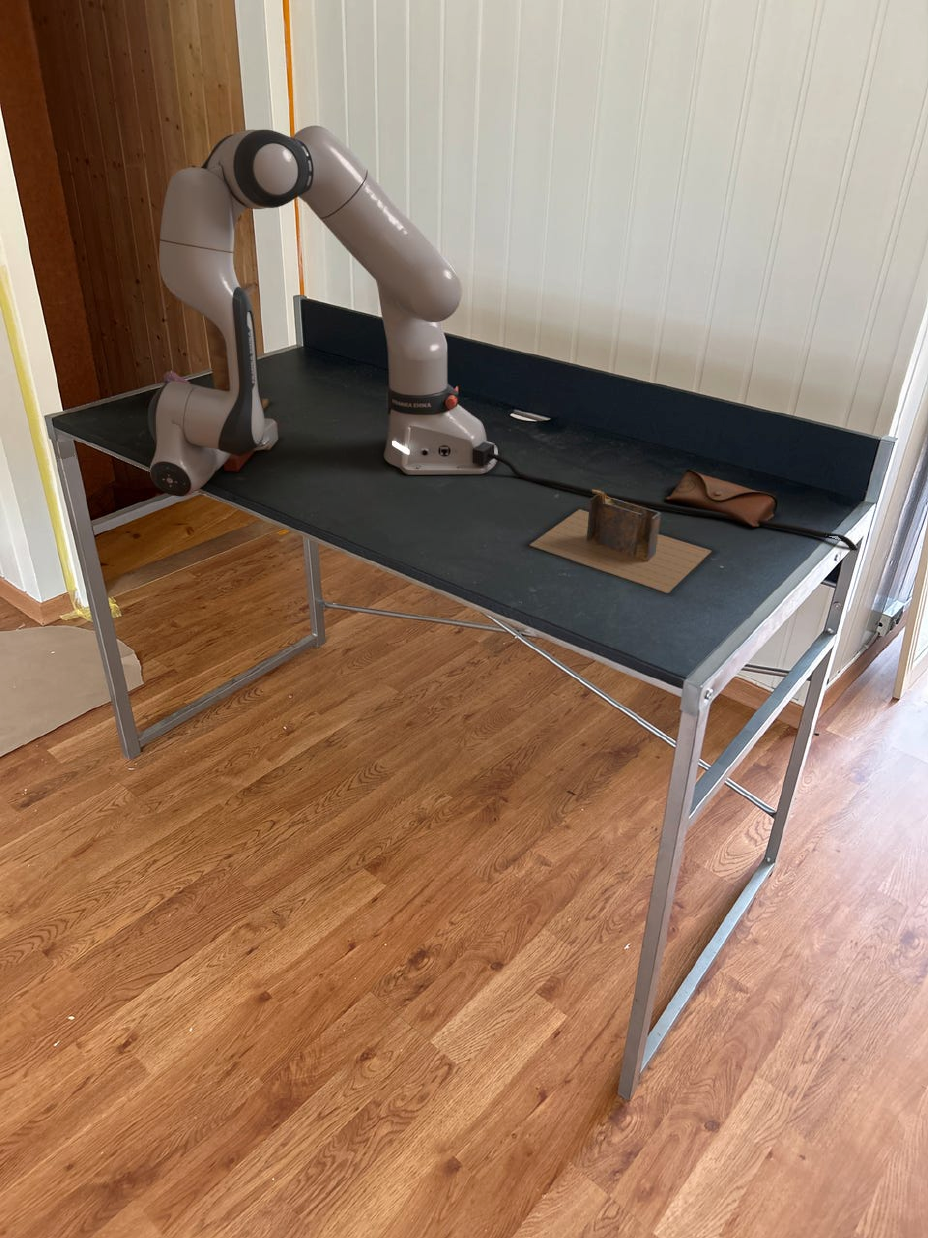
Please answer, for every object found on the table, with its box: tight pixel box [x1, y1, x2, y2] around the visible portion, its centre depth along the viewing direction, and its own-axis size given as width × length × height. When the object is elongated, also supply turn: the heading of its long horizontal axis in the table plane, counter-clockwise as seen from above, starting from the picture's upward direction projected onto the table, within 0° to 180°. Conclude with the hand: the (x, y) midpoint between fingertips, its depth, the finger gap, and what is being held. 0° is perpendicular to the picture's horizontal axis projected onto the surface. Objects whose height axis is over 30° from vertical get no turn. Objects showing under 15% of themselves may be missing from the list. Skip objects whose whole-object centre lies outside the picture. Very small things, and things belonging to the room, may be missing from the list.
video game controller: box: [162, 370, 191, 385], centre depth 206 cm, size 10×5×7 cm, turn 17°
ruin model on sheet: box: [529, 488, 712, 594], centre depth 148 cm, size 25×16×10 cm, turn 54°
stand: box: [203, 282, 269, 410], centre depth 195 cm, size 12×9×26 cm
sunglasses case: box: [665, 469, 779, 528], centre depth 163 cm, size 18×7×7 cm, turn 52°
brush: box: [223, 420, 279, 472], centre depth 181 cm, size 8×17×4 cm, turn 171°
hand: (236, 414), depth 175 cm, fingers open, 8 cm apart
